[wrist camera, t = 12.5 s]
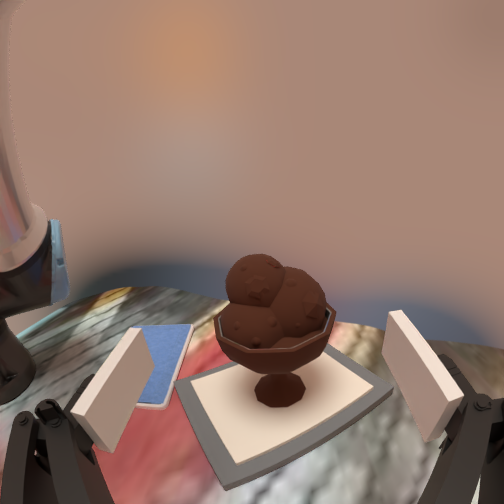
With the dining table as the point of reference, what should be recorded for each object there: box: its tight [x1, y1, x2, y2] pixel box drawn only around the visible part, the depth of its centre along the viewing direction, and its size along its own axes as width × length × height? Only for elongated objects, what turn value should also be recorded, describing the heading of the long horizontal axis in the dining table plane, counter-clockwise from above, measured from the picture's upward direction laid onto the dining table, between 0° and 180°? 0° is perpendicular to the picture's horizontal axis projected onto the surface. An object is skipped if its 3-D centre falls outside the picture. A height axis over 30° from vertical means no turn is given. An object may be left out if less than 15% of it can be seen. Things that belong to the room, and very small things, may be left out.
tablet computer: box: [128, 324, 194, 410], centre depth 36 cm, size 19×13×1 cm, turn 179°
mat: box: [173, 343, 394, 491], centre depth 27 cm, size 16×20×1 cm
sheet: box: [191, 352, 374, 466], centre depth 27 cm, size 13×16×1 cm
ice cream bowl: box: [213, 254, 336, 408], centre depth 24 cm, size 11×11×15 cm
